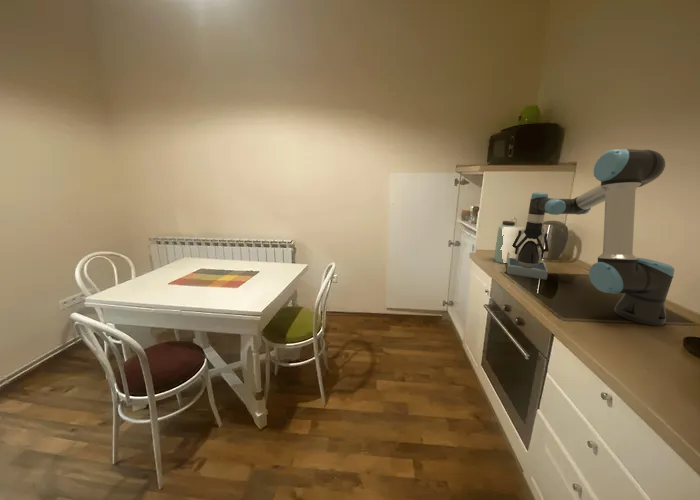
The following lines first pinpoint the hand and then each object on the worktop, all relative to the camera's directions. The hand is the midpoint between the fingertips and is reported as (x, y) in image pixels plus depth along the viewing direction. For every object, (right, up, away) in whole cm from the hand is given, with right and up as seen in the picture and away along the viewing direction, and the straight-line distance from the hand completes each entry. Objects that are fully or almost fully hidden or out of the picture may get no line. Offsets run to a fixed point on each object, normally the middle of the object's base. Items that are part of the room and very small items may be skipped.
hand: (527, 261), depth 173 cm
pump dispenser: (0, -3, +1) cm, 3 cm away
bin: (0, -6, +2) cm, 6 cm away
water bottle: (-4, -1, +20) cm, 20 cm away
